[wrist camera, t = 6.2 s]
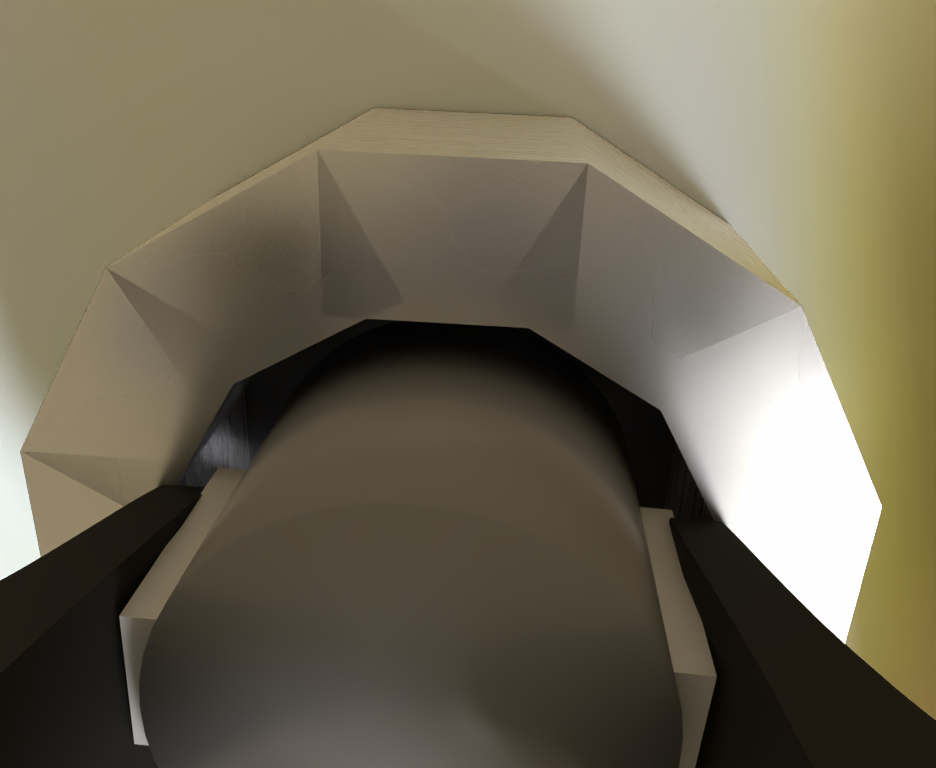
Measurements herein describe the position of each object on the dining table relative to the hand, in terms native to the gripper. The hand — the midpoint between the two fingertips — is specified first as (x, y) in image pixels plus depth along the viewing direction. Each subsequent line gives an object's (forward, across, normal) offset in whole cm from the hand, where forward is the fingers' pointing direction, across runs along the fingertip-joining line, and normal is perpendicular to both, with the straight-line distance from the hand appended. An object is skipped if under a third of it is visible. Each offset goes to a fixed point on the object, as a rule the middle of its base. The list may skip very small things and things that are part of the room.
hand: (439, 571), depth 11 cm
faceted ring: (+3, 0, 0) cm, 3 cm away
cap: (+2, 0, 0) cm, 2 cm away
